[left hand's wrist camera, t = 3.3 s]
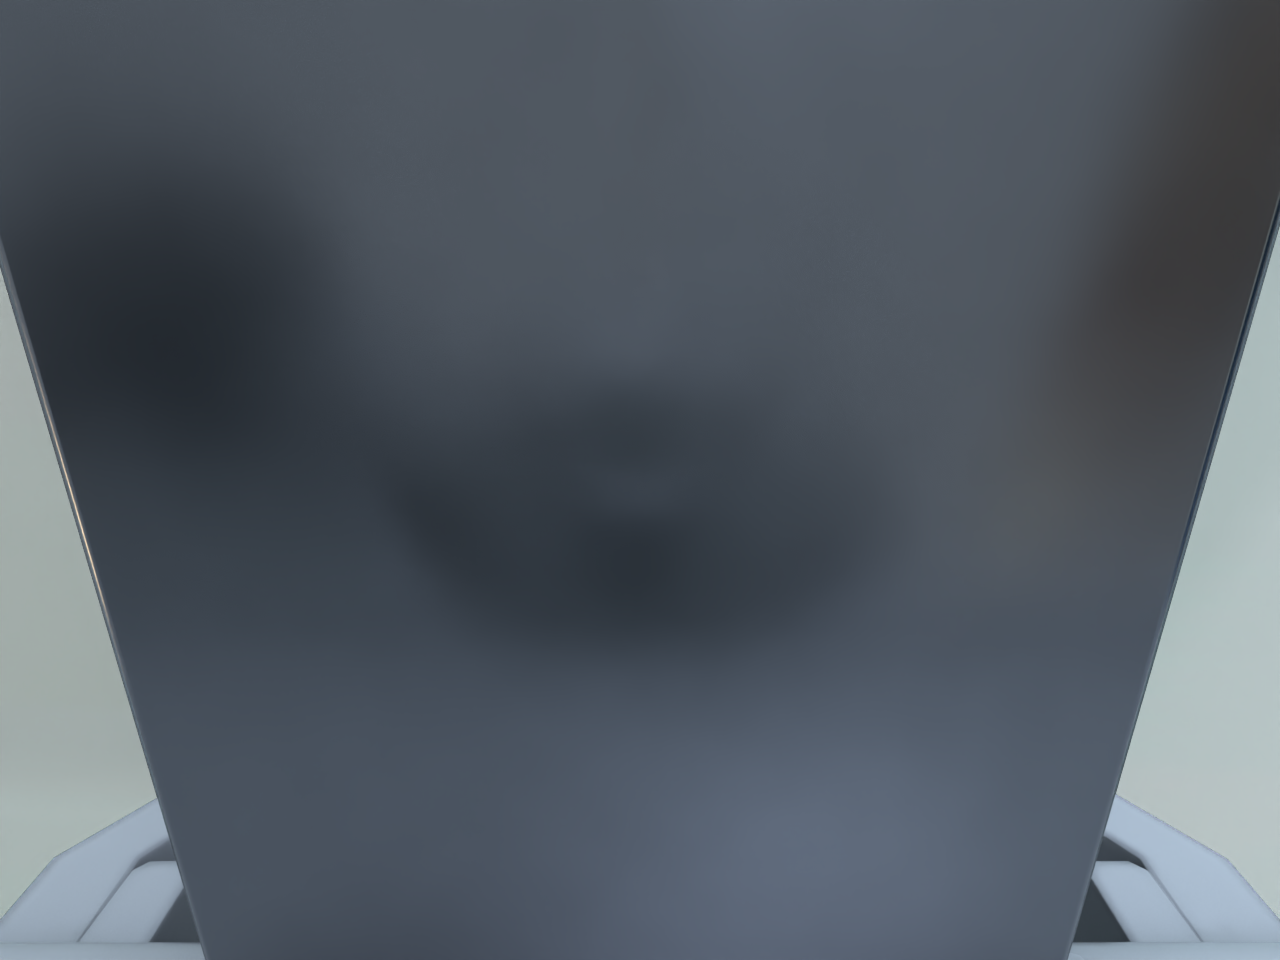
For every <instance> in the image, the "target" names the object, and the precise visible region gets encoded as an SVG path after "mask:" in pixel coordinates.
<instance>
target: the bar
mask: <svg viewBox="0 0 1280 960" xmlns="http://www.w3.org/2000/svg"><path fill="white" fill-rule="evenodd" d="M1279 227H1280V0H0V268H1V272H2V275H3V278H4V282H5V285H6V288H7V292H8V295H9V299H10V302H11V305H12V309H13V312H14V315H15V319H16V322H17V326H18V329H19V332H20V336H21V339H22V343H23V346H24V349H25V353H26V356H27V359H28V363H29V366H30V370H31V373H32V376H33V380H34V383H35V386H36V390H37V393H38V397H39V400H40V403H41V407H42V410H43V413H44V417H45V420H46V424H47V427H48V430H49V434H50V437H51V441H52V444H53V447H54V451H55V454H56V457H57V461H58V464H59V468H60V471H61V474H62V478H63V481H64V484H65V488H66V491H67V495H68V498H69V501H70V505H71V508H72V512H73V515H74V518H75V522H76V525H77V528H78V532H79V535H80V539H81V542H82V545H83V549H84V552H85V555H86V559H87V562H88V566H89V569H90V572H91V576H92V579H93V582H94V586H95V589H96V593H97V596H98V599H99V603H100V606H101V610H102V613H103V616H104V620H105V623H106V626H107V630H108V633H109V637H110V640H111V643H112V647H113V650H114V653H115V657H116V660H117V664H118V667H119V670H120V674H121V677H122V681H123V684H124V687H125V691H126V694H127V697H128V701H129V704H130V708H131V711H132V714H133V718H134V721H135V724H136V728H137V731H138V735H139V738H140V741H141V745H142V748H143V751H144V755H145V758H146V762H147V765H148V768H149V772H150V775H151V779H152V782H153V785H154V789H155V792H156V795H157V799H158V802H159V806H160V809H161V812H162V816H163V819H164V822H165V826H166V829H167V833H168V836H169V839H170V843H171V846H172V850H173V853H174V856H175V860H176V863H177V866H178V870H179V873H180V877H181V880H182V883H183V887H184V890H185V893H186V897H187V900H188V904H189V907H190V910H191V914H192V917H193V920H194V924H195V927H196V931H197V934H198V937H199V941H200V944H201V948H202V951H203V954H204V958H205V960H1068V957H1069V953H1070V950H1071V947H1072V943H1073V940H1074V936H1075V933H1076V929H1077V926H1078V922H1079V919H1080V915H1081V912H1082V908H1083V905H1084V902H1085V898H1086V895H1087V891H1088V888H1089V884H1090V881H1091V877H1092V874H1093V870H1094V867H1095V863H1096V860H1097V857H1098V853H1099V850H1100V846H1101V843H1102V839H1103V836H1104V832H1105V829H1106V825H1107V822H1108V818H1109V815H1110V812H1111V808H1112V805H1113V801H1114V798H1115V794H1116V791H1117V787H1118V784H1119V780H1120V777H1121V773H1122V770H1123V767H1124V763H1125V760H1126V756H1127V753H1128V749H1129V746H1130V742H1131V739H1132V735H1133V732H1134V728H1135V725H1136V722H1137V718H1138V715H1139V711H1140V708H1141V704H1142V701H1143V697H1144V694H1145V690H1146V687H1147V683H1148V680H1149V677H1150V673H1151V670H1152V666H1153V663H1154V659H1155V656H1156V652H1157V649H1158V645H1159V642H1160V638H1161V635H1162V632H1163V628H1164V625H1165V621H1166V618H1167V614H1168V611H1169V607H1170V604H1171V600H1172V597H1173V593H1174V590H1175V587H1176V583H1177V580H1178V576H1179V573H1180V569H1181V566H1182V562H1183V559H1184V555H1185V552H1186V548H1187V545H1188V542H1189V538H1190V535H1191V531H1192V528H1193V524H1194V521H1195V517H1196V514H1197V510H1198V507H1199V503H1200V500H1201V497H1202V493H1203V490H1204V486H1205V483H1206V479H1207V476H1208V472H1209V469H1210V465H1211V462H1212V458H1213V455H1214V452H1215V448H1216V445H1217V441H1218V438H1219V434H1220V431H1221V427H1222V424H1223V420H1224V417H1225V413H1226V410H1227V407H1228V403H1229V400H1230V396H1231V393H1232V389H1233V386H1234V382H1235V379H1236V375H1237V372H1238V368H1239V365H1240V362H1241V358H1242V355H1243V351H1244V348H1245V344H1246V341H1247V337H1248V334H1249V330H1250V327H1251V323H1252V320H1253V317H1254V313H1255V310H1256V306H1257V303H1258V299H1259V296H1260V292H1261V289H1262V285H1263V282H1264V278H1265V275H1266V272H1267V268H1268V265H1269V261H1270V258H1271V254H1272V251H1273V247H1274V244H1275V240H1276V237H1277V233H1278V230H1279Z"/></svg>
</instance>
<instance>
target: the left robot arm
mask: <svg viewBox="0 0 1280 960" xmlns="http://www.w3.org/2000/svg"><path fill="white" fill-rule="evenodd" d="M0 960H205V958H204V954H203V951H202V948H201V944H200V941H199V937H198V934H197V931H196V927H195V924H194V920H193V917H192V914H191V910H190V907H189V904H188V900H187V897H186V893H185V890H184V887H183V883H182V880H181V877H180V873H179V870H178V866H177V863H176V860H175V856H174V853H173V850H172V846H171V843H170V839H169V836H168V833H167V829H166V826H165V822H164V819H163V816H162V812H161V809H160V806H159V802H158V799H157V798H156V799H154V800H153V801H151V802H149V803H148V804H146V805H144V806H142V807H141V808H139V809H137V810H135V811H134V812H132V813H130V814H128V815H127V816H125V817H123V818H122V819H120V820H118V821H116V822H115V823H113V824H111V825H109V826H108V827H106V828H104V829H103V830H101V831H99V832H97V833H96V834H94V835H92V836H90V837H89V838H87V839H85V840H84V841H82V842H80V843H78V844H77V845H75V846H73V847H71V848H70V849H68V850H66V851H64V852H63V853H61V854H59V855H58V856H56V857H54V858H53V859H52V860H51V861H50V863H49V864H48V865H47V866H46V867H45V868H44V870H43V871H42V872H41V873H40V874H39V875H38V877H37V878H36V879H35V880H34V881H33V882H32V884H31V885H30V886H29V887H28V888H27V889H26V890H25V892H24V893H23V894H22V895H21V896H20V897H19V899H18V900H17V901H16V902H15V903H14V904H13V906H12V907H11V908H10V909H9V910H8V911H7V912H6V914H5V915H4V916H3V917H2V918H1V919H0ZM1068 960H1280V919H1279V918H1278V917H1277V916H1276V915H1275V914H1274V912H1273V911H1272V910H1271V909H1270V908H1269V907H1268V905H1267V904H1266V903H1265V902H1264V901H1263V900H1262V898H1261V897H1260V896H1259V895H1258V894H1257V893H1256V891H1255V890H1254V889H1253V888H1252V887H1251V886H1250V884H1249V883H1248V882H1247V881H1246V880H1245V879H1244V877H1243V876H1242V875H1241V874H1240V873H1239V872H1238V870H1237V869H1236V868H1235V867H1234V866H1233V865H1232V863H1231V862H1230V861H1229V860H1228V859H1227V858H1225V857H1223V856H1222V855H1220V854H1218V853H1217V852H1215V851H1213V850H1211V849H1210V848H1208V847H1206V846H1204V845H1203V844H1201V843H1199V842H1198V841H1196V840H1194V839H1192V838H1191V837H1189V836H1187V835H1185V834H1184V833H1182V832H1180V831H1179V830H1177V829H1175V828H1173V827H1172V826H1170V825H1168V824H1167V823H1165V822H1163V821H1161V820H1160V819H1158V818H1156V817H1154V816H1153V815H1151V814H1149V813H1148V812H1146V811H1144V810H1142V809H1141V808H1139V807H1137V806H1135V805H1134V804H1132V803H1130V802H1129V801H1127V800H1125V799H1123V798H1122V797H1120V796H1118V795H1117V794H1115V798H1114V801H1113V805H1112V808H1111V812H1110V815H1109V818H1108V822H1107V825H1106V829H1105V832H1104V836H1103V839H1102V843H1101V846H1100V850H1099V853H1098V857H1097V860H1096V863H1095V867H1094V870H1093V874H1092V877H1091V881H1090V884H1089V888H1088V891H1087V895H1086V898H1085V902H1084V905H1083V908H1082V912H1081V915H1080V919H1079V922H1078V926H1077V929H1076V933H1075V936H1074V940H1073V943H1072V947H1071V950H1070V953H1069V957H1068Z"/></svg>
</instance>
